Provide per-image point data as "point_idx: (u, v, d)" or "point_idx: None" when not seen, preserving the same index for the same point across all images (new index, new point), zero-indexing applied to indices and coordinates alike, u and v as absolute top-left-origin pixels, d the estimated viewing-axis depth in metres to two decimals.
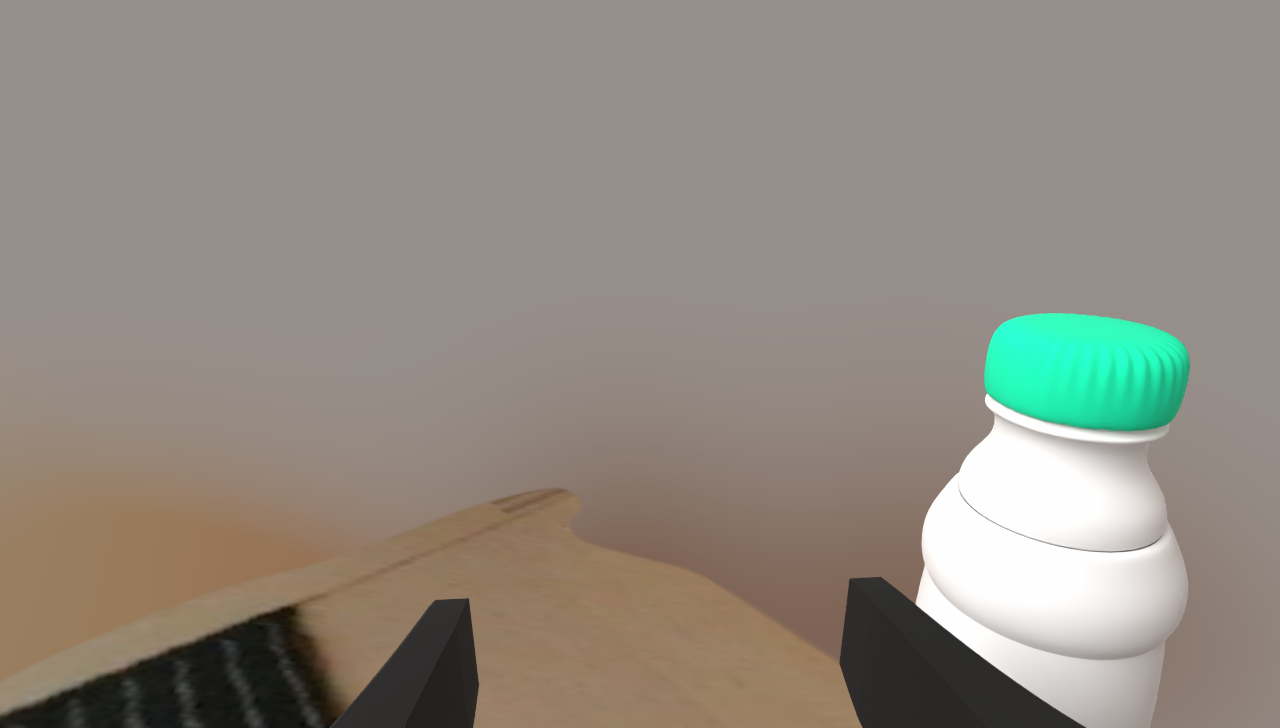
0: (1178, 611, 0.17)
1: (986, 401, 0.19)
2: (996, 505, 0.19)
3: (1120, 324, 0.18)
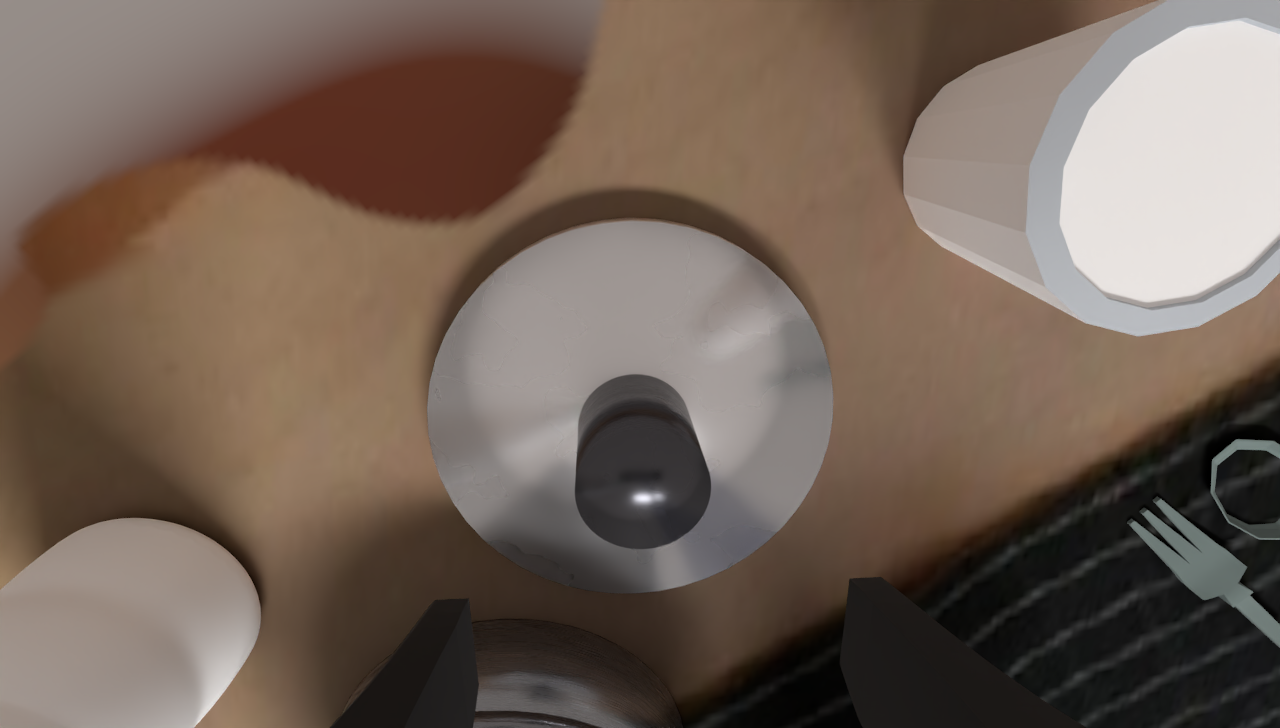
0: None
1: None
2: None
3: None
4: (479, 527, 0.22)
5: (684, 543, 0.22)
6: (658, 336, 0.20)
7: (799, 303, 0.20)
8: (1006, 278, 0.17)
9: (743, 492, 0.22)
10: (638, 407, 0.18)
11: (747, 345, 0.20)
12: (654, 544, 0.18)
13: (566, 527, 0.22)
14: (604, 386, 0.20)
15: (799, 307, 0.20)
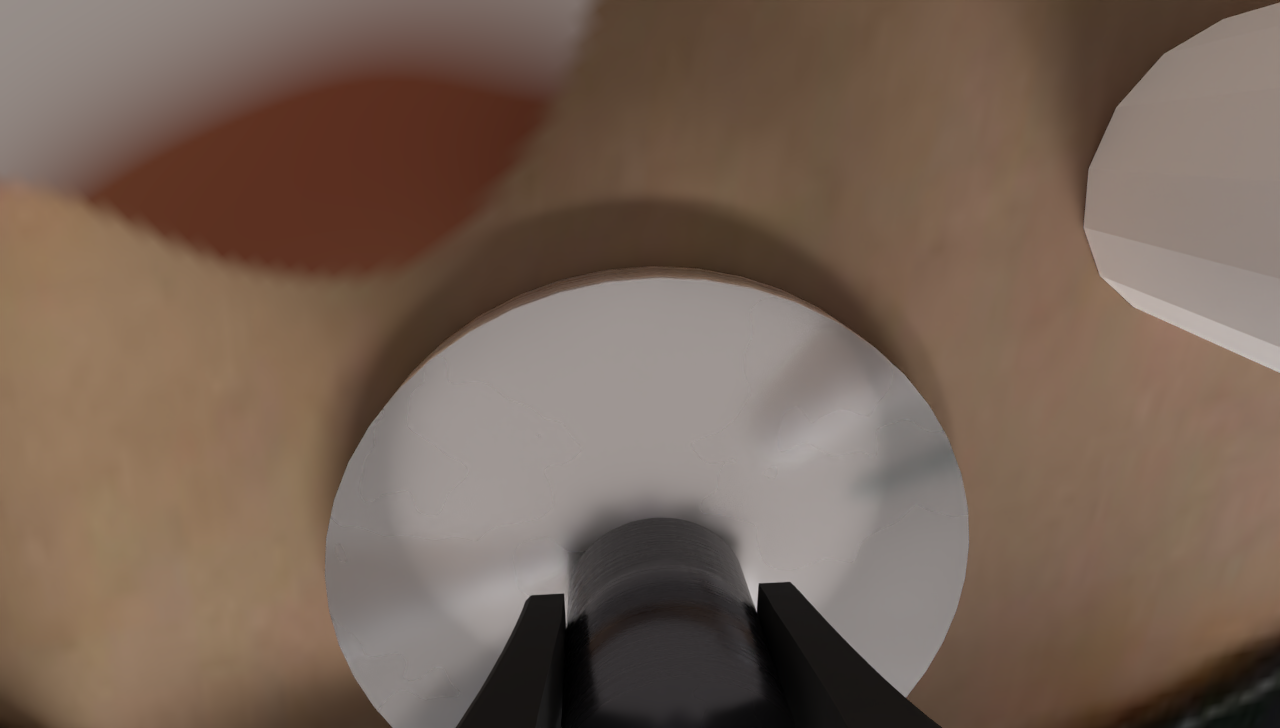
0: None
1: None
2: None
3: None
4: None
5: None
6: (698, 460, 0.12)
7: (926, 407, 0.12)
8: None
9: None
10: (671, 609, 0.10)
11: (839, 471, 0.12)
12: None
13: None
14: (610, 540, 0.12)
15: (925, 413, 0.12)
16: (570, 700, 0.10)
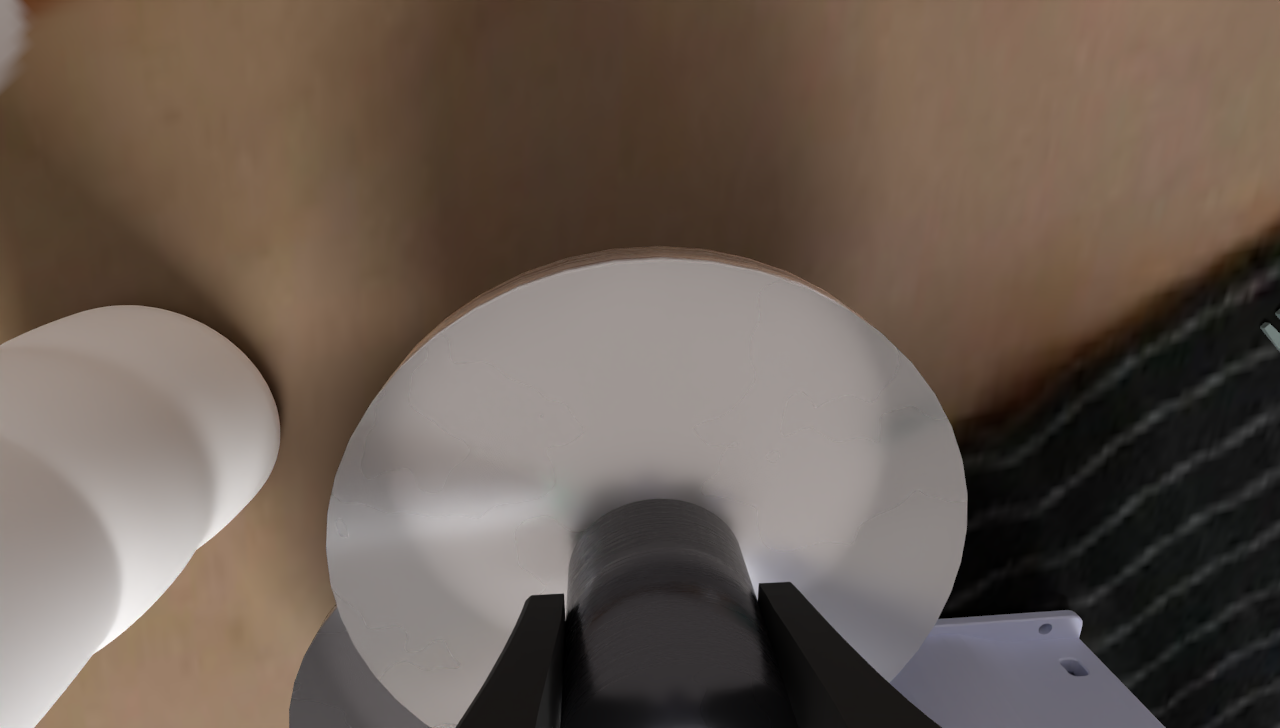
0: None
1: None
2: None
3: None
4: (416, 707, 0.14)
5: None
6: (701, 443, 0.12)
7: (931, 394, 0.12)
8: None
9: None
10: (672, 593, 0.10)
11: (841, 457, 0.12)
12: None
13: None
14: (611, 521, 0.12)
15: (930, 400, 0.12)
16: (571, 680, 0.10)
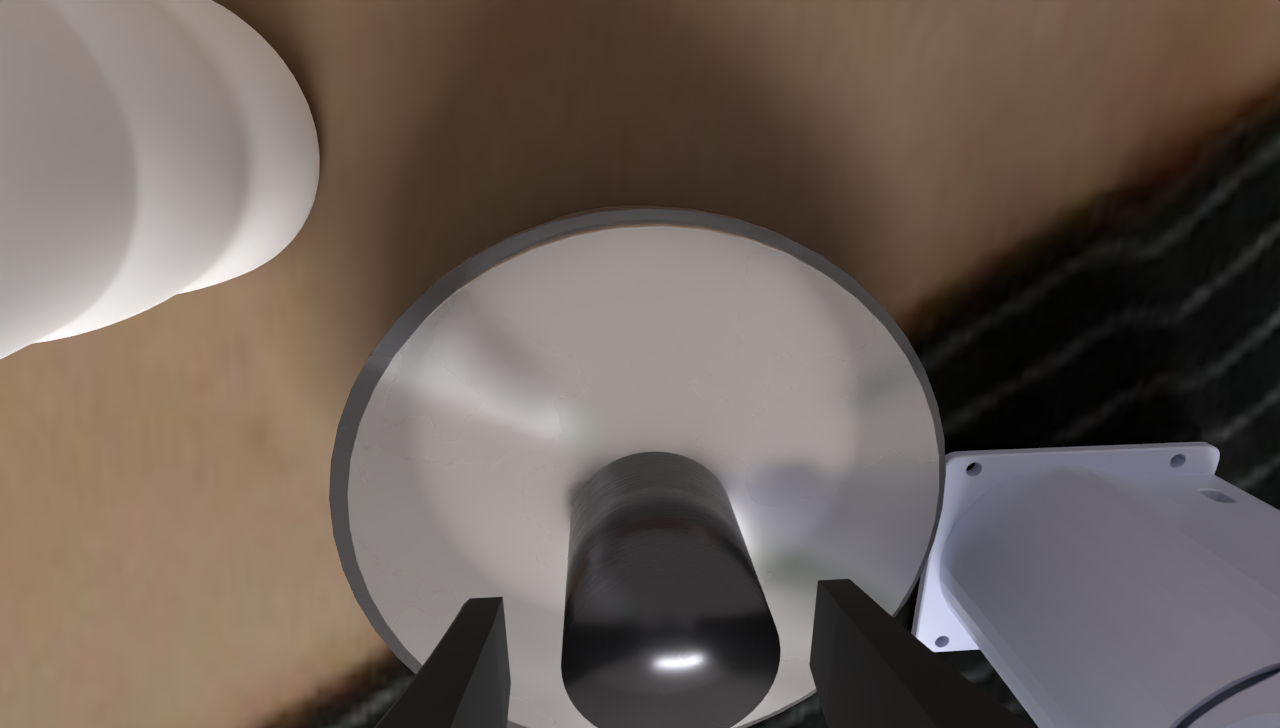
0: None
1: None
2: None
3: None
4: (423, 655, 0.15)
5: None
6: (694, 398, 0.13)
7: (903, 357, 0.13)
8: None
9: (800, 615, 0.15)
10: (665, 519, 0.11)
11: (822, 415, 0.14)
12: None
13: (549, 657, 0.15)
14: (611, 469, 0.13)
15: (902, 363, 0.13)
16: (573, 595, 0.11)
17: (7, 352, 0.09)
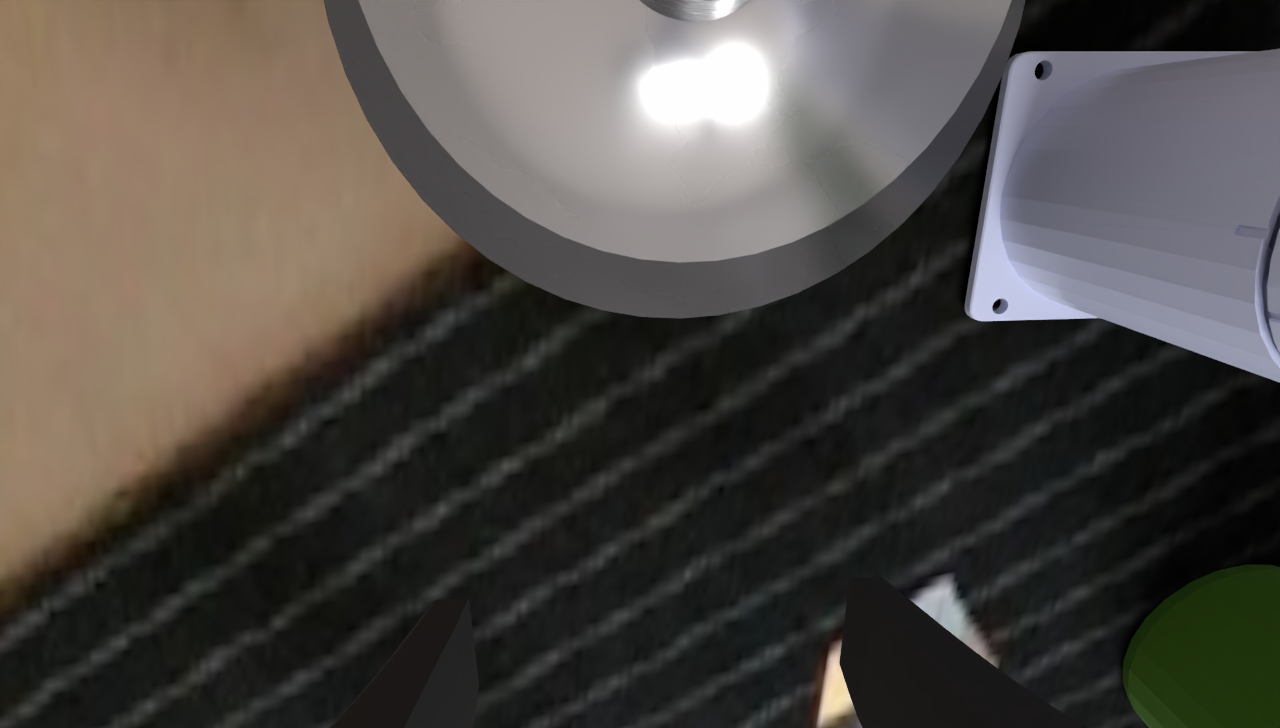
0: None
1: None
2: None
3: None
4: (422, 104, 0.13)
5: (763, 170, 0.14)
6: None
7: None
8: None
9: (868, 74, 0.13)
10: None
11: None
12: None
13: (571, 119, 0.13)
14: None
15: None
16: None
17: None
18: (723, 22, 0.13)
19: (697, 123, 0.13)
